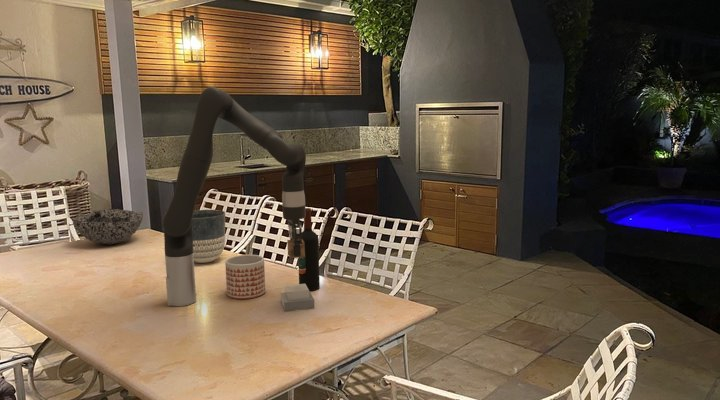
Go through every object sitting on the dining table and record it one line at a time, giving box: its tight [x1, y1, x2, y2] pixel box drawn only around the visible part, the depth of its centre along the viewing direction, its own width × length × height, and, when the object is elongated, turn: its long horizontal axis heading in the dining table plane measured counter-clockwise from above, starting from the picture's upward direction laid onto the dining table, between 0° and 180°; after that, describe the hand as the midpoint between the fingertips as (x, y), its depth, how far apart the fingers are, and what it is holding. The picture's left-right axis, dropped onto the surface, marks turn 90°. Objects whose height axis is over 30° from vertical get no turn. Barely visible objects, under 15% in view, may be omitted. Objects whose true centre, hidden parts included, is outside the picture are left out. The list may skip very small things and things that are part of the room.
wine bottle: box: [297, 207, 320, 292], centre depth 200 cm, size 8×8×30 cm
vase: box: [224, 254, 266, 300], centre depth 197 cm, size 14×14×13 cm
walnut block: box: [286, 239, 305, 259], centre depth 182 cm, size 5×5×5 cm
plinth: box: [280, 283, 315, 312], centre depth 185 cm, size 10×10×6 cm
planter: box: [192, 209, 226, 264], centre depth 238 cm, size 20×20×21 cm
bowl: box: [72, 208, 144, 246], centre depth 273 cm, size 31×31×15 cm
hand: (296, 253), depth 183 cm, fingers closed on walnut block, 5 cm apart
